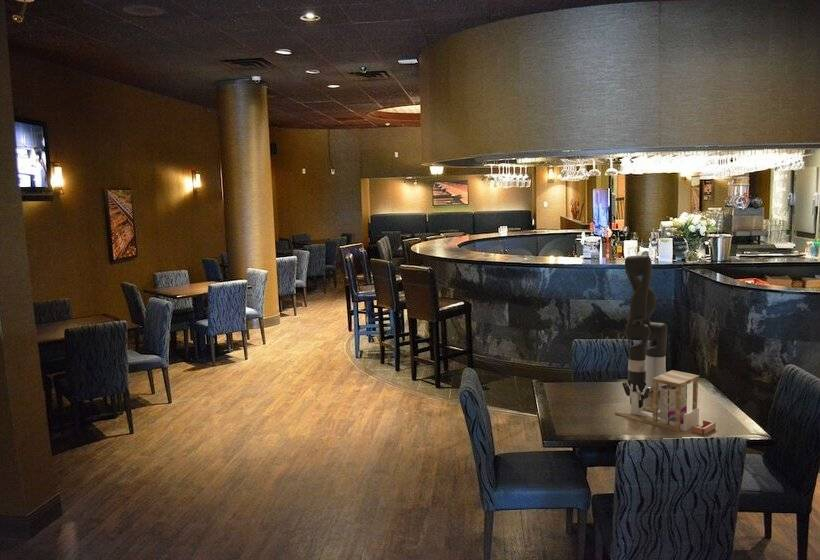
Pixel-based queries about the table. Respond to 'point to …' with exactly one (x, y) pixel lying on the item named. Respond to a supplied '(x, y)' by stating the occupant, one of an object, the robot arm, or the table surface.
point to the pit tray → (704, 428)
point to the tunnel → (678, 381)
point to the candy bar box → (672, 403)
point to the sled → (688, 419)
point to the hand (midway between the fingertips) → (636, 406)
